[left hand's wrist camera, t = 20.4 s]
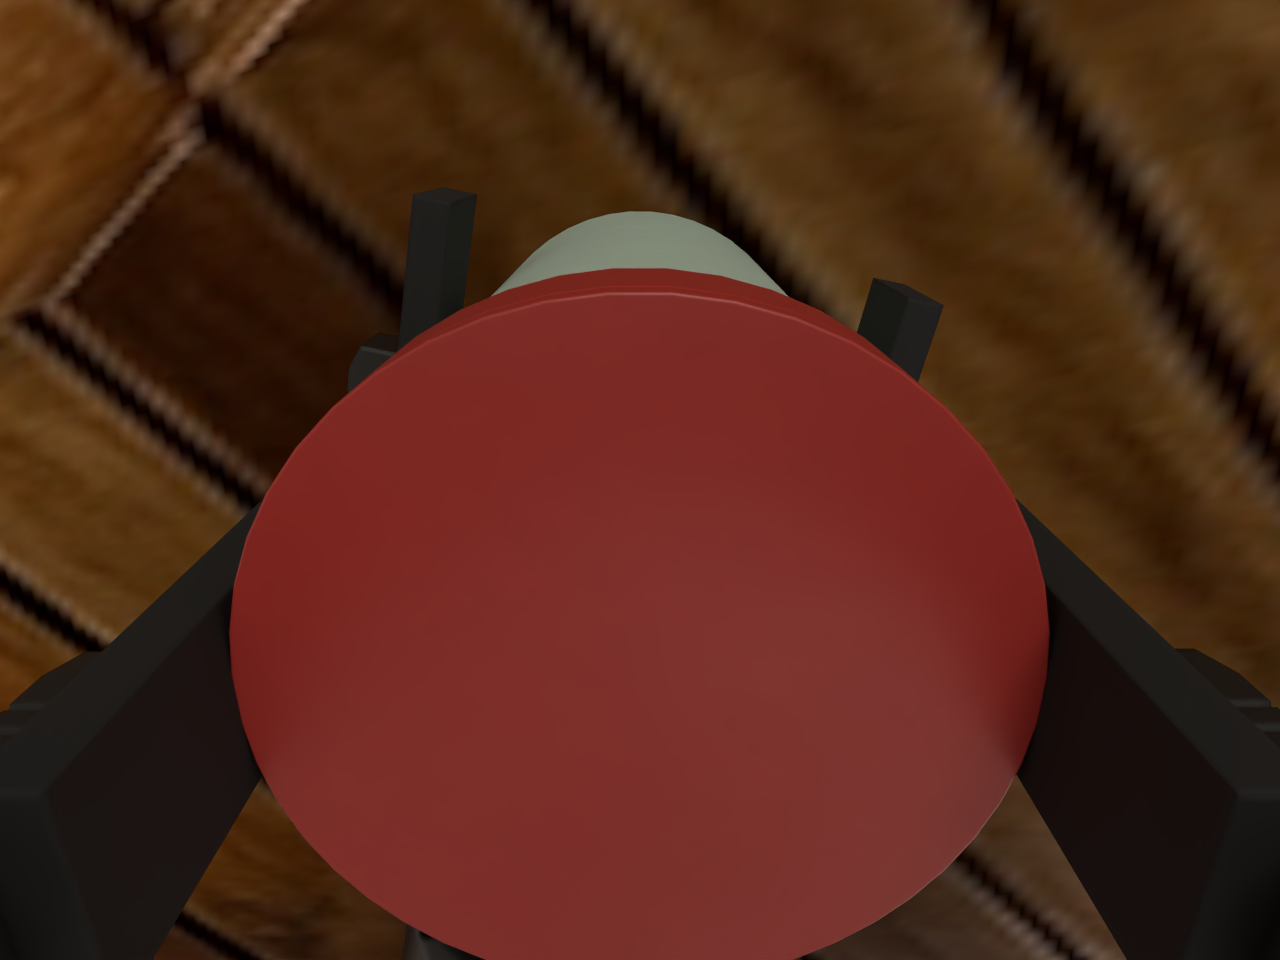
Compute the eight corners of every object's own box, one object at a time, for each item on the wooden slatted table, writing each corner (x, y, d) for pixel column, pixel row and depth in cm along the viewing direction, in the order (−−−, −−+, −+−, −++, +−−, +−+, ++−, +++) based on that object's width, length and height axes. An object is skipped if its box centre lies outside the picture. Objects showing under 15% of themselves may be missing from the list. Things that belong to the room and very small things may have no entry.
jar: (749, 535, 27) (871, 968, 13) (467, 481, 27) (266, 876, 12) (830, 248, 24) (1115, 406, 10) (510, 178, 23) (302, 237, 9)
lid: (305, 189, 10) (236, 198, 8) (1106, 353, 11) (1194, 394, 9) (273, 833, 14) (221, 932, 12) (870, 923, 14) (902, 1027, 13)
